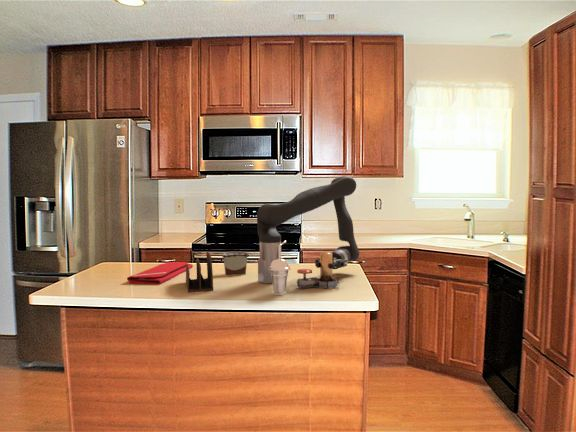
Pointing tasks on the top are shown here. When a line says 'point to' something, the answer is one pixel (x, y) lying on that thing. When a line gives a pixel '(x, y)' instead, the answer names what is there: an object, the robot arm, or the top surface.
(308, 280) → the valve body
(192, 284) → the letter holder
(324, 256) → the copper cylinder
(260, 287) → the top surface
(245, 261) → the food container
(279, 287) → the cup with straw
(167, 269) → the dish drying mat
